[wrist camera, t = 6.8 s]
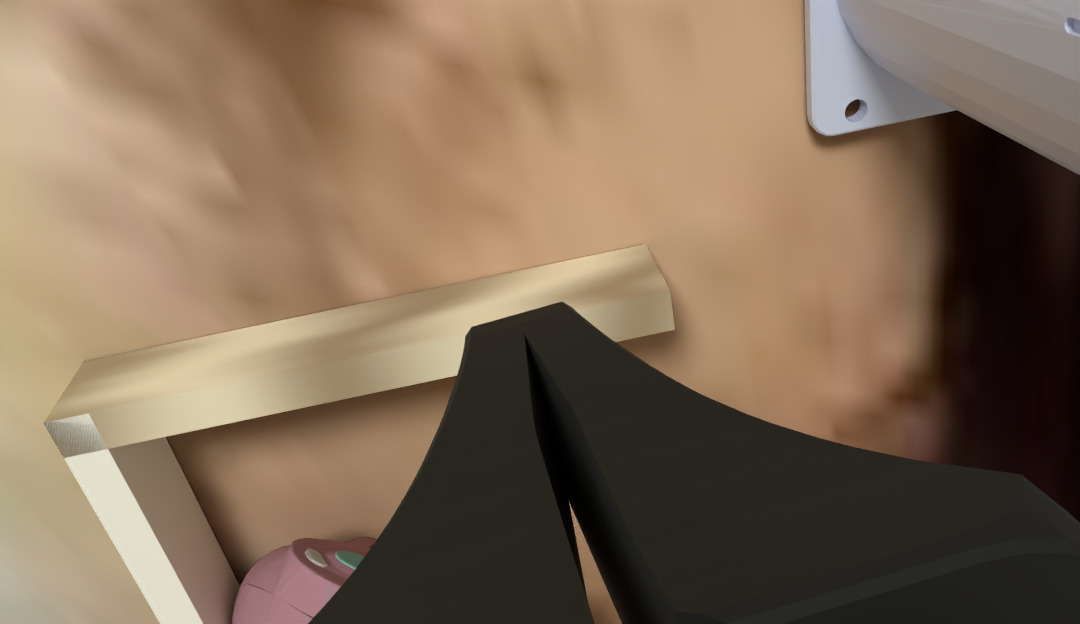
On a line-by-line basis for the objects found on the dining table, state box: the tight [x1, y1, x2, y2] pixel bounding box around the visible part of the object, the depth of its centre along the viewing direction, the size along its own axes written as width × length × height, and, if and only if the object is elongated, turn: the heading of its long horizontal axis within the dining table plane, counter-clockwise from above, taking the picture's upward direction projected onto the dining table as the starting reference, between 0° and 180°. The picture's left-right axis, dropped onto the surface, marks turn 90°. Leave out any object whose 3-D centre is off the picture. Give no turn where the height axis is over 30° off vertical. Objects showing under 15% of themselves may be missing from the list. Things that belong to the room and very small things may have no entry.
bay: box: [44, 244, 675, 624], centre depth 24 cm, size 14×16×2 cm
